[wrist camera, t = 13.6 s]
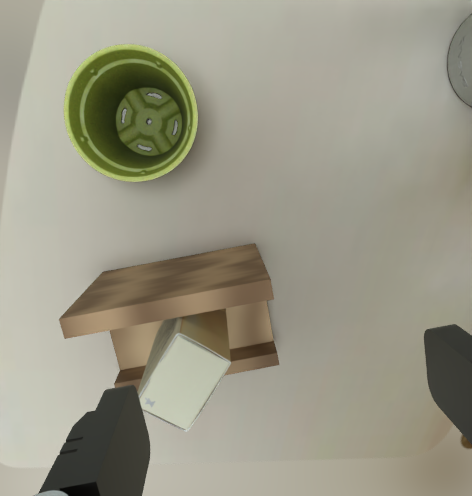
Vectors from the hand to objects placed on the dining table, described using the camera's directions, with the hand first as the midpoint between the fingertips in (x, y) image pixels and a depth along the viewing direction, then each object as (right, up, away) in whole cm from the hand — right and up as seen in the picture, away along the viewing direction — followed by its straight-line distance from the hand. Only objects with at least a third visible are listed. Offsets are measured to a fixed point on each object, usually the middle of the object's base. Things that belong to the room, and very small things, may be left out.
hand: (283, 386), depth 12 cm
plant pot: (-9, +15, +27) cm, 32 cm away
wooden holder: (-6, -2, +31) cm, 32 cm away
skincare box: (-6, -3, +29) cm, 30 cm away
